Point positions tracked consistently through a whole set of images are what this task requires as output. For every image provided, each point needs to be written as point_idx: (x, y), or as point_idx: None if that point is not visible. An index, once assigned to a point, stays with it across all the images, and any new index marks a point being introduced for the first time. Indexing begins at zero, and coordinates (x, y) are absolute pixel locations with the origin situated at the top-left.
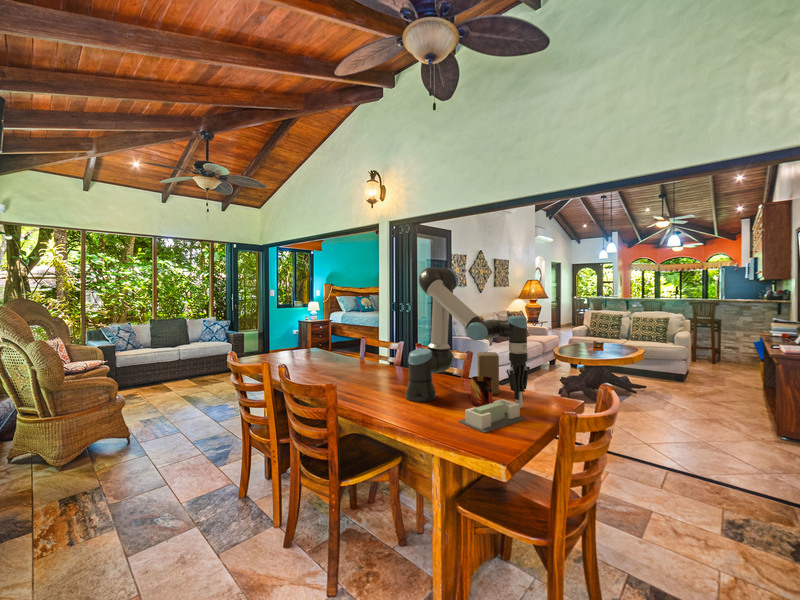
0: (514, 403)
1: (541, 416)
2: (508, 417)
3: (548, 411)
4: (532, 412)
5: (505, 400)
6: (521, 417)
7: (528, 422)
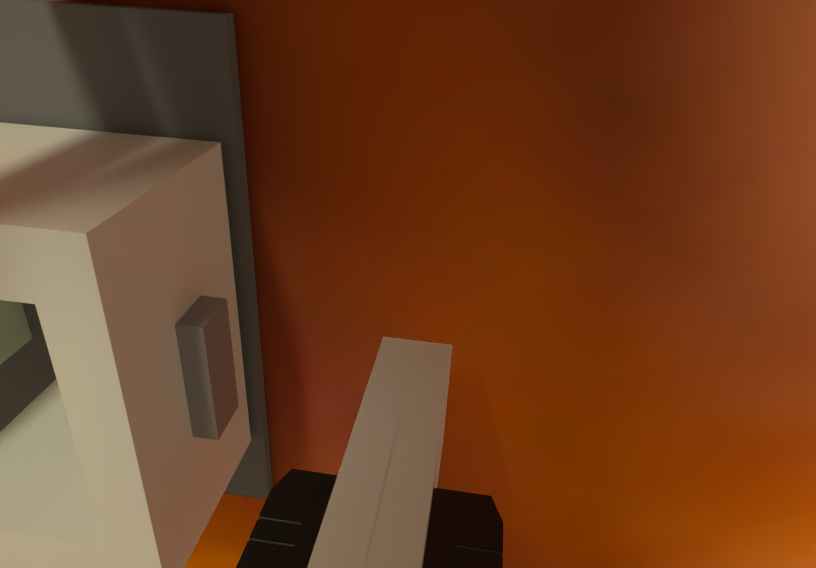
0: (116, 533)
1: (526, 563)
2: (50, 395)
3: (802, 562)
4: (593, 448)
5: (78, 337)
6: (253, 458)
7: (229, 537)
